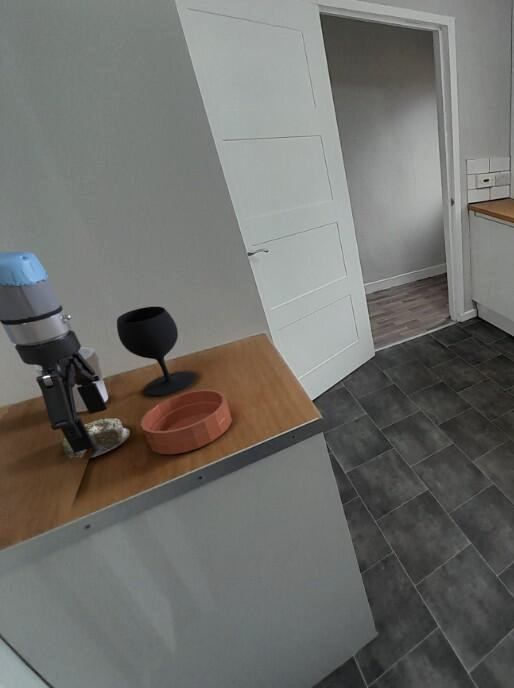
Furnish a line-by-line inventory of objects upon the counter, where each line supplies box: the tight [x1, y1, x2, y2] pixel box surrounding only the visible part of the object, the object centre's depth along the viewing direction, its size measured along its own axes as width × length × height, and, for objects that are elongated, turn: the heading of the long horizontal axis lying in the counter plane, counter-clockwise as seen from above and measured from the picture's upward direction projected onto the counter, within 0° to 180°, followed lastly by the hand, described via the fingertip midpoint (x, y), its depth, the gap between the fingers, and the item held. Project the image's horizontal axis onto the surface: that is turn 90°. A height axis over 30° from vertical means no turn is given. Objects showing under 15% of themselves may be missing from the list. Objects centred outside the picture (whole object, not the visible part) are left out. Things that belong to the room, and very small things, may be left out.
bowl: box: [140, 388, 233, 455], centre depth 87 cm, size 14×14×6 cm
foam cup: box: [34, 346, 109, 413], centre depth 93 cm, size 10×9×13 cm
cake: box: [61, 418, 130, 459], centre depth 83 cm, size 10×10×5 cm
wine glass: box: [116, 306, 196, 398], centre depth 99 cm, size 10×10×20 cm
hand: (92, 428), depth 83 cm, fingers open, 13 cm apart
